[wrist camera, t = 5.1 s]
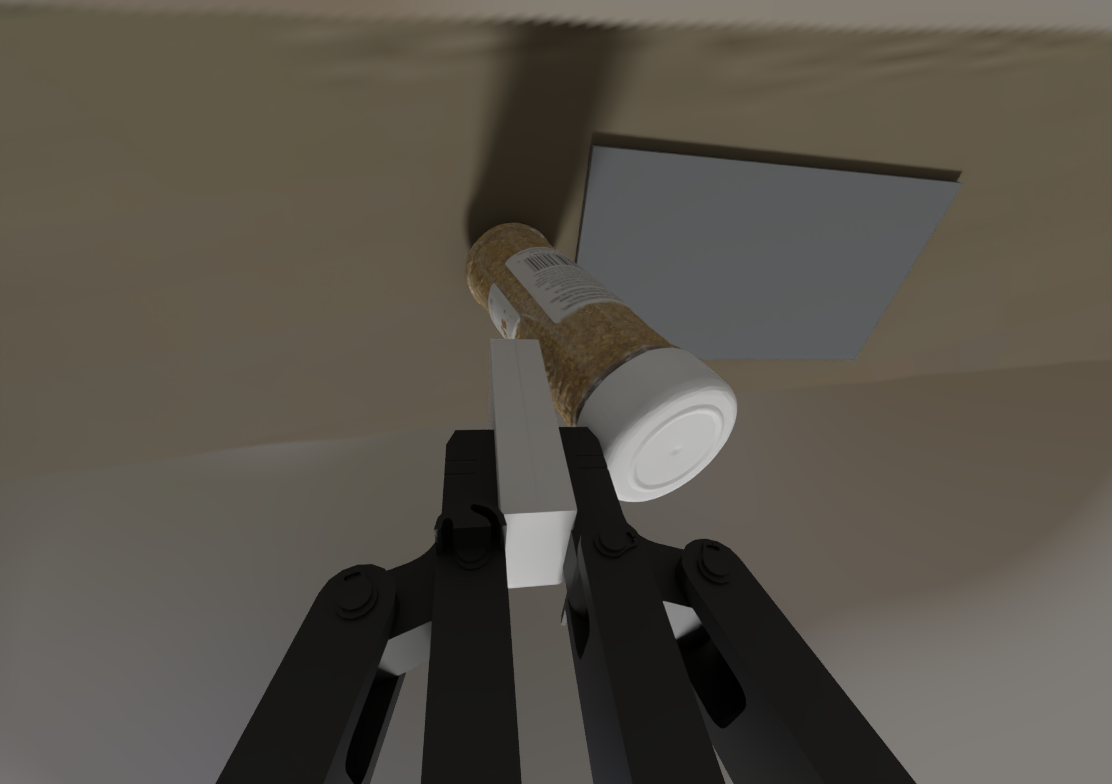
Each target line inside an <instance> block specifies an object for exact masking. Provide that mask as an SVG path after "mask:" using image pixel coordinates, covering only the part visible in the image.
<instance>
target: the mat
mask: <svg viewBox="0 0 1112 784" xmlns="http://www.w3.org/2000/svg"><path fill="white" fill-rule="evenodd" d="M962 185H963V183H960V182H956V181H946V180H936V179H926V178H916V177H906V176H896V175H886V174H876V173H867V172H857V171H847V170H837V169H827V168H817V167H807V166H797V165H787V164H778V163H768V162H758V161H748V160H738V159H728V158H718V157H708V156H698V155H689V154H679V153H669V152H659V151H649V150H639V149H629V148H619V147H609V146H600V145H591V152H590V159H589V166H588V174H587V181H586V188H585V195H584V203H583V210H582V217H581V224H580V231H579V239H578V246H577V253H576V260H575V263H576V264H577V265H579V266H580V267H581V268H582V269H584V270H585V271H586V272H587V273H589V274H590V275H591V276H592V277H593V278H595V279H596V280H597V281H598V282H600V283H601V284H602V285H603V286H605V287H606V288H607V289H608V290H609V291H611V292H612V293H613V294H614V295H615V296H617V297H618V298H619V299H620V300H622V301H623V302H624V303H625V304H626V305H628V306H629V307H630V308H631V309H632V310H633V311H634V312H635V313H636V315H637V316H638V317H640V318H641V319H642V320H643V321H644V322H645V323H646V324H647V325H649V327H651V328H652V329H653V330H654V331H656V332H657V333H658V334H659V335H661V336H662V337H663V338H664V339H666V340H667V341H668V342H669V343H670V344H671V345H675V346H677V347H679V348H681V349H683V350H686V351H688V352H690V353H692V354H693V355H694V356H696V357H697V358H698V359H727V360H855V358H856V357H857V355H858V353H859V352H860V350H861V349H862V347H863V345H864V344H865V342H866V340H867V339H868V337H869V336H870V334H871V332H872V331H873V329H874V328H875V326H876V324H877V323H878V321H879V319H880V318H881V316H882V315H883V313H884V311H885V310H886V308H887V306H888V305H889V303H890V302H891V300H892V298H893V297H894V295H895V294H896V292H897V290H898V289H899V287H900V285H901V284H902V282H903V281H904V279H905V277H906V276H907V274H908V272H909V271H910V269H911V268H912V266H913V264H914V263H915V261H916V259H917V258H918V256H919V255H920V253H921V251H922V250H923V248H924V247H925V245H926V243H927V242H928V240H929V238H930V237H931V235H932V234H933V232H934V230H935V229H936V227H937V225H938V224H939V222H940V221H941V219H942V217H943V216H944V214H945V212H946V211H947V209H948V208H949V206H950V204H951V203H952V201H953V200H954V198H955V196H956V195H957V193H958V191H959V190H960V188H961V187H962Z"/></svg>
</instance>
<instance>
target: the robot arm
mask: <svg viewBox="0 0 1112 784" xmlns="http://www.w3.org/2000/svg"><path fill="white" fill-rule="evenodd" d="M489 423H490V430H455V432H454V434H453V435H452V437H451V438H450V440H449V441H448V443H447V444H446V458H445V473H444V475H445V476H444V488H443V503H442V514H441V515H440V516H439V517H438V519H437V522H436V525H435V528H434V534H435V543H434V545H433V546H432V547H431V548H430V549H429V550H428V551H427V552H426V553H425V554H423V555H422V556H421V557H419V558H417V559H415V560H413V561H411V562H409V563H407V564H404V565H401V566H399V567H396V568H393V569H391V570H388V571H386V570H385V569H384V568H381V567H379V566H375V565H373V564H368V565H367V564H366V565H356V566H353V567H350V568H348V569H345V570H342V571H341V572H339V573H338V574H337V575H335V576H334V577H332V578H331V579H330V580H329V581H328V582H327V583H326V585H325V586H324V587H323V588H322V590H321V591H320V592H319V594H318V596H317V597H316V599H315V601H314V603H313V605H312V607H311V608H310V611H309V612H308V614H307V616H306V618H305V620H304V621H303V623H302V625H301V627H300V629H299V631H298V632H297V634H296V636H295V638H294V640H293V642H292V644H291V645H290V647H289V649H288V651H287V653H286V655H285V657H284V658H283V660H282V662H281V664H280V666H279V668H278V669H277V671H276V673H275V675H274V677H273V679H272V680H271V682H270V684H269V686H268V688H267V690H266V692H265V693H264V695H263V697H262V699H261V701H260V703H259V704H258V706H257V708H256V710H255V712H254V714H253V716H252V717H251V719H250V721H249V723H248V725H247V727H246V729H245V730H244V732H243V734H242V736H241V738H240V740H239V741H238V743H237V745H236V747H235V749H234V751H233V753H232V754H231V756H230V758H229V760H228V762H227V763H226V766H225V767H224V769H223V771H222V773H221V775H220V776H219V778H218V780H217V782H216V784H370V781H371V778H372V775H373V772H374V769H375V766H376V763H377V760H378V757H379V754H380V751H381V748H382V745H383V742H384V738H385V735H386V732H387V729H388V726H389V723H390V720H391V717H392V714H393V711H394V708H395V704H396V702H397V699H398V696H399V692H400V689H401V686H402V683H403V680H404V677H405V674H406V672H407V671H409V670H411V669H413V668H415V667H417V666H419V665H421V664H423V663H425V662H428V661H429V673H428V688H427V702H426V717H425V732H424V746H423V761H422V776H421V784H521V769H520V755H519V740H518V726H517V711H516V697H515V683H514V668H513V655H512V639H511V626H510V610H509V596H508V588H518V587H530V586H540V585H553V584H561V583H562V578H563V574H564V577H565V583H566V588H567V594H566V598H565V603H564V607H563V611H562V615H561V626H563V625H566V622H567V624H568V630H569V636H570V643H571V649H572V655H573V661H574V667H575V673H576V680H577V685H578V691H579V698H580V704H581V710H582V716H583V722H584V729H585V735H586V741H587V747H588V752H589V758H590V765H591V771H592V777H593V783H594V784H725V781H724V778H723V775H722V772H721V770H720V767H719V764H718V761H717V758H716V755H715V752H714V749H713V746H714V748H715V750H716V752H717V754H718V756H719V757H720V759H721V761H722V763H723V765H724V767H725V769H726V770H727V772H728V774H729V776H730V778H731V780H732V782H733V783H734V784H916V783H915V781H914V780H913V779H912V777H911V776H910V775H909V774H908V772H907V771H906V770H905V769H904V767H903V766H902V765H901V764H900V762H899V761H898V760H897V759H896V757H895V756H894V754H893V753H892V752H891V751H890V749H889V748H888V747H887V746H886V744H885V743H884V742H883V740H882V739H881V738H880V737H879V735H878V734H877V733H876V732H875V730H874V729H873V728H872V726H871V725H870V724H869V723H868V721H867V720H866V719H865V717H864V716H863V715H862V714H861V712H860V711H859V710H858V709H857V707H856V706H855V705H854V703H853V702H852V701H851V700H850V698H849V697H848V696H847V695H846V693H845V692H844V691H843V690H842V688H841V687H840V686H839V684H838V683H837V682H836V681H835V679H834V678H833V677H832V675H831V674H830V673H829V672H828V670H827V669H826V668H825V667H824V665H823V664H822V663H821V661H820V660H819V659H818V658H817V657H816V655H815V654H814V652H813V651H812V650H811V649H810V647H809V646H808V645H807V644H806V642H805V641H804V640H803V639H802V637H801V636H800V635H799V633H798V632H797V631H796V630H795V628H794V627H793V626H792V625H791V623H790V622H789V621H788V619H787V618H786V617H785V615H784V614H783V613H782V612H781V610H780V609H779V608H778V607H777V605H776V604H775V603H774V601H773V600H772V599H771V598H770V596H769V595H768V594H767V593H766V591H765V590H764V589H763V587H762V586H761V585H760V584H759V582H758V581H757V580H756V578H755V577H754V576H753V575H752V573H751V572H750V571H749V570H748V569H747V567H746V566H745V564H744V563H743V562H742V561H741V560H740V558H739V557H738V556H737V555H736V554H735V553H734V552H733V551H732V550H731V549H730V548H728V547H726V546H724V545H723V544H721V543H719V542H717V541H713V540H709V539H698V540H694V541H692V542H690V543H689V544H687V545H686V547H685V549H684V550H683V549H678V548H675V547H671V546H666V545H662V544H658V543H655V542H652V541H649V540H647V539H645V538H643V537H642V536H640V535H639V534H638V533H637V531H636V530H635V529H634V528H633V527H631V526H630V525H629V524H628V523H627V522H626V519H625V518H624V515H623V513H622V510H621V506H620V503H619V501H618V497H617V494H616V491H615V488H614V485H613V482H612V479H611V476H610V473H609V470H608V466H607V463H606V460H605V457H604V454H603V451H602V448H601V445H600V442H599V439H598V438H597V437H596V436H595V435H594V434H593V433H592V431H591V430H590V429H589V428H588V427H558V423H557V419H556V415H555V410H554V406H553V401H552V397H551V393H550V388H549V384H548V380H547V375H546V371H545V366H544V362H543V358H542V353H541V349H540V345H539V340H533V339H490V375H489ZM712 745H713V746H712Z"/></svg>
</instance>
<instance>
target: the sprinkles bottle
mask: <svg viewBox="0 0 1112 784" xmlns="http://www.w3.org/2000/svg"><path fill="white" fill-rule="evenodd" d="M466 280H467V284H468V287H469V289H470V292H471V294H472V295H473V297H474V298H475V299H476V301H477V302H478V303H479V304H480V305H482V306H483V307H484V308H485V309H486V311H487V312H488V313H489V315H490V316H491V318H492V321H493V323H494V324H495V326H496V327H497V329H498V330H499V331H500V333H501V334H502V336H503V337H504V338H505V339H533V340H539V345H540V349H541V353H542V358H543V362H544V366H545V371H546V375H547V380H548V384H549V388H550V393H551V397H552V401H553V405H554V406H555V408H556V409H557V411H558V412H559V413H560V414H561V416H562V417H563V419H564V420H565V422H566V423H567V424H568V426H569V427H588V428H589V429H590V430H591V431H592V433H593V434H594V435H595V436H596V437H597V438H598V439H599V442H600V445H601V448H602V451H603V454H604V457H605V460H606V463H607V466H608V470H609V473H610V476H611V479H612V482H613V485H614V488H615V491H616V494H617V497H618V499H619V500H622V501H627V502H641V501H647V500H650V499H655V498H657V497H660V496H663V495H665V494H667V493H669V492H671V491H673V490H675V489H677V488H678V487H680V486H682V485H683V484H685V483H686V482H688V481H689V480H691V479H692V478H693V477H694V476H696V475H697V474H698V473H699V472H700V471H701V470H702V469H703V468H705V467H706V466H707V465H708V464H709V463H710V462H711V461H712V459H713V458H714V457H715V456H716V455H717V453H718V452H719V451H720V449H721V448H722V447H723V445H724V444H725V442H726V441H727V439H728V437H729V435H730V433H731V431H732V429H733V426H734V423H735V420H736V415H737V400H736V397H735V394H734V392H733V390H732V389H731V387H730V386H729V385H728V384H727V383H726V382H725V381H724V380H723V379H722V378H720V377H719V376H718V375H717V374H716V373H715V372H714V371H713V370H711V369H710V368H709V367H708V366H707V365H706V364H704V363H703V362H702V361H701V360H699V359H698V358H697V357H696V356H694V355H693V354H692V353H690V352H688V351H686V350H683V349H681V348H679V347H677V346H675V345H671V344H670V343H669V342H668V341H667V340H666V339H664V338H663V337H662V336H661V335H659V334H658V333H657V332H656V331H654V330H653V329H652V328H651V327H649V325H647V324H646V323H645V322H644V321H643V320H642V319H641V318H640V317H638V316H637V315H636V313H635V312H634V311H633V310H632V309H631V308H630V307H629V306H628V305H626V304H625V303H624V302H623V301H622V300H620V299H619V298H618V297H617V296H615V295H614V294H613V293H612V292H611V291H609V290H608V289H607V288H606V287H605V286H603V285H602V284H601V283H600V282H598V281H597V280H596V279H595V278H593V277H592V276H591V275H590V274H589V273H587V272H586V271H585V270H584V269H582V268H581V267H580V266H579V265H577V264H576V263H575V262H574V261H572V260H571V259H570V258H569V257H567V256H566V255H565V254H563V253H562V252H560V251H558V250H556V249H555V248H554V247H552V246H551V245H550V244H549V243H548V241H547V239H546V238H545V237H544V236H543V235H542V234H541V233H540V232H539V231H538V230H537V229H535V228H532V227H530V226H529V225H526V224H521V223H505V224H500V225H497V226H496V227H493V228H491V229H490V230H488V231H487V232H485V233H484V234H483V235H482V236H481V237H480V238H479V239H478V240H477V241H476V242H475V243H474V244H473V246H472V248H471V250H470V253H469V255H468V259H467V263H466Z"/></svg>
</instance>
